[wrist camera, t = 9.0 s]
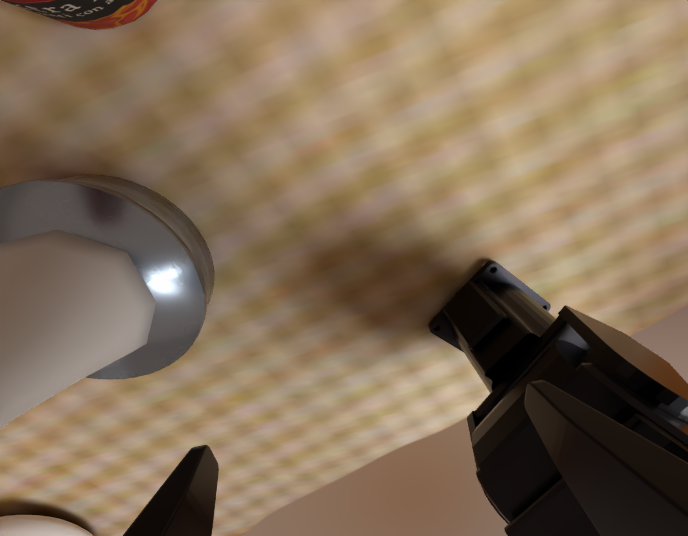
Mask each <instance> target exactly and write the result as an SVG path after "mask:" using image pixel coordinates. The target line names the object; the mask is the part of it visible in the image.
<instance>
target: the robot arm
mask: <svg viewBox="0 0 688 536" xmlns="http://www.w3.org/2000/svg"><path fill="white" fill-rule="evenodd" d="M492 267H494V269H493V270H492V271H490V269H491V268H492ZM542 306H543V307H542ZM549 310H550V304H549V303H548V302H547V301H546V300H544V299H543V298H542V297H541V296H539V295H538V294H537V293H535V292H534V291H533V290H531V289H530V288H529V287H528V286H526V285H525V284H524V283H522V282H521V281H520V280H519V279H517V278H516V277H515V276H513V275H512V274H511V273H510V272H508V271H507V270H506V269H504V268H503V267H502V266H500V265H499V264H498V263H497V262H495V261H489V262H487V263H486V264H485V265H484V266H483V267H482V268H481V269H480V270H479V271H478V272H477V273H476V274H475V275H474V276H473V278H472V279H471V280H470V281H469V282H468V283H467V284H466V285H465V286H464V287H463V288H462V289H461V290H460V291H459V292H458V293H457V294H456V295H455V296H454V298H453V299H452V300H451V301H450V302H449V303H448V304H447V305H446V306H445V307H444V308H443V309H442V310H441V311H440V312H439V313H438V314H437V315H436V316H435V317H434V319H433V320H432V321H431V322H430V323H429V326H428V327H429V329H430V331H431V332H432V333H433V334H434V335H436V336H438V337H439V338H441V339H443V340H444V341H446V342H448V343H449V344H451V345H453V346H454V347H456V348H458V349H459V350H461V351H463V352H464V353H465V354H466V356H467V358H468V359H469V361H470V362H471V364H472V365H473V367H474V368H475V370H476V372H477V373H478V375H479V376H480V378H481V379H482V381H483V382H484V384H485V385H486V387H487V389H488V390H489V392H490V395H489V396H488V397H487V398H486V399H485V400H484V401H483V402H482V404H481V405H480V406H479V407H478V408H477V409H476V410H475V411H472V412H471V413H470V414H469V416H468V417H467V421H468V426H469V431H470V437H471V442H472V448H473V452H474V457H475V462H476V467H477V471H476V474H477V478H478V481H479V483H480V484H481V486H482V488H483V491H484V493H485V495H486V497H487V498H488V500H489V502H490V503H491V505H492V506H493V507H494V509H495V510H496V511H497V513H498V514H499V515H500V516H501V517H502V518H503V519H504V520H505V521H506V523H507V524H508V525H507V526H506V527H505V532H506V534H507V535H508V536H688V383H686V381H685V380H684V379H683V378H682V377H681V376H680V375H679V374H678V372H677V371H676V370H675V369H674V368H673V367H672V366H671V365H670V364H669V363H668V362H667V361H665V360H664V359H662V358H661V357H659V356H658V355H656V354H655V353H653V352H652V351H650V350H649V349H647V348H646V347H644V346H643V345H641V344H640V343H638V342H637V341H635V340H634V339H632V338H631V337H629V336H628V335H626V334H624V333H623V332H621V331H618V330H616V329H614V328H612V327H610V326H608V325H606V324H604V323H602V322H600V321H597V320H595V319H593V318H591V317H589V316H587V315H585V314H583V313H581V312H579V311H576V310H574V309H572V308H570V307H568V306H566V305H565V306H564V307H563V308H562V310H561V311H560V312H559V313H558V314H559V316H558V317H557V318H555V317H554V316H552V315H551V314H550V313H549V312H548V311H549ZM435 326H438V327H436V328H434V327H435ZM218 471H219V468H218V463H217V460H216V459H215V457H214V455H213V453H212V451H211V449H210V447H209V446H207V445H202V446H197V447H193V448H192V449H191V450H190V451H189V452H188V453H187V454H186V456H185V457H184V458H183V459H182V461H181V462H180V463H179V464H178V466H177V467H176V468H175V470H174V471H173V472H172V473H171V475H170V476H169V477H168V478H167V480H166V481H165V482H164V484H163V485H162V486H161V487H160V489H159V490H158V491H157V492H156V494H155V495H154V496H153V498H152V499H151V500H150V501H149V503H148V504H147V505H146V507H145V508H144V509H143V510H142V512H141V513H140V514H139V515H138V517H137V518H136V519H135V521H134V522H133V523H132V524H131V526H130V527H129V528H128V529H127V531H126V532H125V533H124V535H123V536H211V535H212V528H213V519H214V509H215V500H216V491H217V481H218Z"/></svg>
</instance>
